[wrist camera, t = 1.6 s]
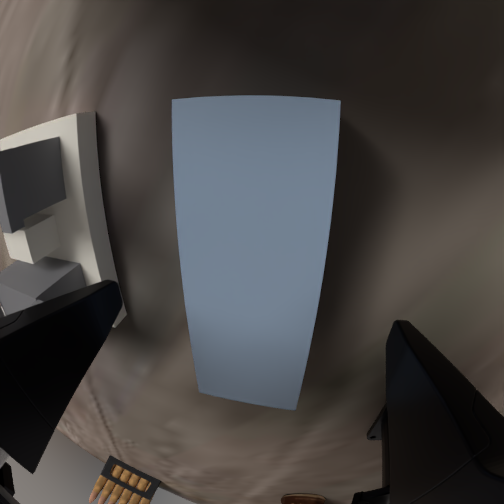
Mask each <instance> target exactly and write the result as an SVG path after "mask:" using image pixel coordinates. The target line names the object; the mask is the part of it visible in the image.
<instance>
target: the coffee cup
mask: <svg viewBox="0 0 504 504" xmlns="http://www.w3.org/2000/svg"><path fill="white" fill-rule="evenodd" d="M324 502H325V498H324V497H323V496H321V495H315V494H291V495H285V496H283V497H282V498H281V503H282V504H324Z"/></svg>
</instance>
